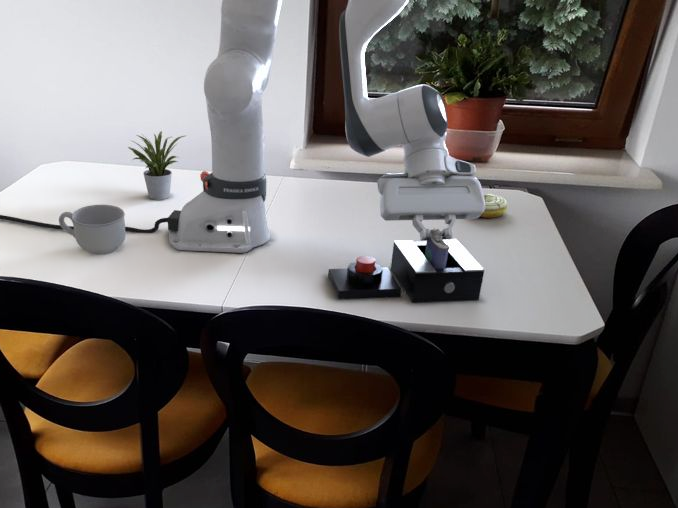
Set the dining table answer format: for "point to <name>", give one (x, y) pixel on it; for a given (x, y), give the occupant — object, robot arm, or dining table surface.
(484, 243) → the dining table surface
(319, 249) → the dining table surface
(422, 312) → the dining table surface
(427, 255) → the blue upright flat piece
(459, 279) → the glossy black box
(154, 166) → the house plant
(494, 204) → the decorated donut
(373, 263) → the stop button
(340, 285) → the control block
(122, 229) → the teacup
